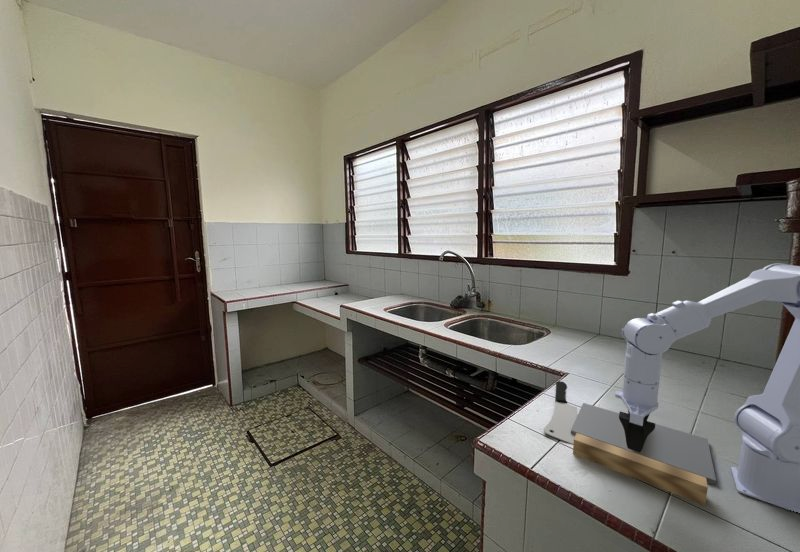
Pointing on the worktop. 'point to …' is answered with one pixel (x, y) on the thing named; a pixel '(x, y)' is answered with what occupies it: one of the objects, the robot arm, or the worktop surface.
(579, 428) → the ridge stand
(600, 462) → the oak beam
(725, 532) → the worktop surface
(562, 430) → the kitchen cleaver
